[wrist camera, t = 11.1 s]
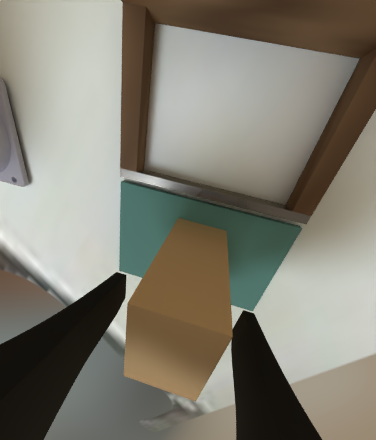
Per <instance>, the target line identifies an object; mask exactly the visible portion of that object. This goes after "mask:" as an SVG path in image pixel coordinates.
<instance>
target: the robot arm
mask: <svg viewBox="0 0 376 440" xmlns="http://www.w3.org/2000/svg"><path fill="white" fill-rule="evenodd" d="M0 181H3V182H7V183H10V184H14V185H17V186H21V187H24V186H27V185H28V178H27V174H26V169H25V165H24V161H23V157H22V153H21V149H20V144H19V140H18V136H17V132H16V128H15V123H14V119H13V115H12V111H11V107H10V103H9V98H8V94H7V90H6V86H5V83H4V81H3V80H2V78H1V77H0ZM125 294H126V275H124V274H121V273H118V272H117V273H115V274H113V275H112V276H111V277H109V278H108V279H107V280H105V281H104V282H103V283H101V284H100V285H99V286H97V287H96V288H94V289H93V290H92V291H90V292H89V293H87V294H86V295H84V296H83V297H81V298H80V299H79V300H77V301H76V302H74V303H72V304H71V305H69V306H68V307H66V308H65V309H63V310H62V311H60V312H58V313H57V314H55V315H53V316H52V317H50V318H48V319H47V320H45V321H43V322H41V323H40V324H38V325H36V326H34V327H33V328H31V329H29V330H27V331H25V332H23V333H21V334H20V335H18V336H16V337H14V338H12V339H10V340H8V341H6V342H4V343H2V344H0V440H44V438H45V436H46V434H47V432H48V430H49V428H50V426H51V424H52V422H53V421H54V419H55V416H56V415H57V413H58V411H59V409H60V407H61V406H62V404H63V402H64V400H65V398H66V396H67V394H68V393H69V391H70V389H71V387H72V385H73V383H74V382H75V379H76V378H77V376H78V374H79V373H80V371H81V369H82V367H83V366H84V364H85V362H86V361H87V359H88V357H89V356H90V354H91V353H92V351H93V350H94V348H95V347H96V345H97V344H98V342H99V341H100V339H101V337H102V336H103V334H104V333H105V331H106V330H107V328H108V327H109V325H110V324H111V322H112V321H113V319H114V318H115V316H116V314H117V313H118V311H119V309H120V307H121V305H122V303H123V301H124V299H125ZM232 333H233V337H232V347H231V352H232V366H233V379H234V391H235V404H236V430H237V431H236V433H237V434H236V435H237V437H236V440H322V439H321V437H320V436H319V434H318V432H317V431H316V429H315V427H314V426H313V424H312V423H311V421H310V419H309V418H308V416H307V414H306V413H305V411H304V409H303V408H302V406H301V404H300V403H299V401H298V399H297V397H296V396H295V394H294V392H293V390H292V388H291V387H290V385H289V383H288V381H287V379H286V378H285V376H284V374H283V372H282V370H281V368H280V366H279V364H278V362H277V360H276V358H275V356H274V354H273V352H272V350H271V348H270V346H269V344H268V342H267V340H266V338H265V336H264V334H263V332H262V330H261V327H260V325H259V323H258V321H257V319H256V317H255V315H254V313H251V312H247V311H244V310H243V312H242V314H241V315H240V317H239V319H238V321H237V323H236V324H235V326H234V328H233V330H232Z"/></svg>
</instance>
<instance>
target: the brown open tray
mask: <svg viewBox="0 0 376 440" xmlns="http://www.w3.org/2000/svg"><path fill="white" fill-rule="evenodd" d="M121 1H122V2H123V24H122V91H121V158H120V177H124V178H128V179H132V180H136V181H140V182H144V183H147V184H151V185H155V186H159V187H163V188H167V189H171V190H175V191H179V192H183V193H186V194H190V195H194V196H198V197H202V198H206V199H210V200H214V201H218V202H222V203H226V204H229V205H233V206H237V207H241V208H245V209H249V210H253V211H257V212H261V213H265V214H268V215H272V216H276V217H280V218H284V219H288V220H292V221H296V222H300V223H304V224H307V222H308V220H309V219H310V217H311V215H312V214H313V212H314V210H315V209H316V207H317V205H318V204H319V202H320V200H321V199H322V197H323V196H324V194H325V192H326V191H327V189H328V187H329V186H330V184H331V182H332V181H333V179H334V177H335V176H336V174H337V172H338V171H339V169H340V167H341V166H342V164H343V162H344V161H345V159H346V157H347V156H348V154H349V152H350V151H351V149H352V147H353V146H354V144H355V142H356V141H357V139H358V137H359V136H360V134H361V132H362V131H363V129H364V127H365V126H366V124H367V122H368V121H369V119H370V118H371V116H372V114H373V113H374V111H375V109H376V0H121ZM155 23H159V24H165V25H171V26H176V27H182V28H188V29H194V30H199V31H205V32H211V33H217V34H222V35H228V36H234V37H240V38H245V39H251V40H257V41H263V42H268V43H274V44H280V45H286V46H291V47H297V48H303V49H309V50H314V51H320V52H326V53H332V54H337V55H343V56H349V57H355V58H360V60H359V62H358V64H357V66H356V68H355V70H354V72H353V74H352V76H351V78H350V80H349V82H348V84H347V86H346V88H345V90H344V92H343V94H342V96H341V97H340V99H339V101H338V103H337V105H336V107H335V109H334V111H333V113H332V115H331V117H330V119H329V121H328V123H327V125H326V127H325V129H324V131H323V133H322V135H321V137H320V139H319V141H318V143H317V145H316V147H315V149H314V151H313V153H312V155H311V157H310V159H309V160H308V162H307V164H306V166H305V168H304V170H303V172H302V174H301V176H300V178H299V180H298V182H297V184H296V186H295V188H294V190H293V192H292V194H291V196H290V198H289V200H288V202H287V204H286V205H283V204H279V203H275V202H271V201H267V200H263V199H259V198H255V197H251V196H247V195H243V194H239V193H235V192H231V191H227V190H223V189H219V188H215V187H211V186H207V185H203V184H199V183H195V182H191V181H187V180H183V179H179V178H175V177H171V176H167V175H163V174H159V173H155V172H151V171H147V170H144V158H145V145H146V132H147V119H148V106H149V93H150V80H151V67H152V54H153V41H154V28H155Z"/></svg>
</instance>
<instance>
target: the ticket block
mask: <svg viewBox="0 0 376 440" xmlns="http://www.w3.org/2000/svg"><path fill="white" fill-rule="evenodd" d="M232 337H233V333H232V315H231V298H230V280H229V263H228V245H227V231H225V230H222V229H218V228H214V227H210V226H207V225H203V224H199V223H196V222H192V221H188V220H184V219H181V218H178V219H177V221H176V222H175V224H174V226H173V228H172V229H171V231H170V233H169V234H168V236H167V238H166V239H165V241H164V243H163V244H162V246H161V248H160V250H159V251H158V253H157V255H156V256H155V258H154V260H153V261H152V263H151V265H150V266H149V268H148V270H147V272H146V273H145V275H144V277H143V278H142V280H141V282H140V283H139V285H138V287H137V288H136V290H135V292H134V294H133V295H132V297H131V299H130V300H129V302H128V306H127V325H126V344H125V363H124V376H126V377H129V378H132V379H135V380H137V381H140V382H143V383H146V384H149V385H151V386H154V387H157V388H160V389H163V390H165V391H168V392H171V393H174V394H177V395H179V396H182V397H185V398H188V399H190V400H193V401H196V400H197V398H198V397H199V395H200V393H201V391H202V390H203V388H204V386H205V384H206V383H207V381H208V379H209V377H210V376H211V374H212V372H213V371H214V369H215V367H216V365H217V364H218V362H219V360H220V358H221V357H222V355H223V353H224V351H225V350H226V348H227V346H228V344H229V343H230V341H231V339H232Z"/></svg>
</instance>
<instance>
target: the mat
mask: <svg viewBox="0 0 376 440" xmlns="http://www.w3.org/2000/svg"><path fill="white" fill-rule="evenodd" d="M178 218H181V219H184V220H188V221H192V222H196V223H199V224H203V225H207V226H210V227H214V228H218V229H222V230H225V231H227V245H228V263H229V280H230V298H231V305H234V306H237V307H240V308H244V309H247V310H250V311H253V310H254V308H255V306H256V305H257V303H258V301H259V300H260V298H261V296H262V295H263V293H264V291H265V290H266V288H267V286H268V285H269V283H270V281H271V280H272V278H273V276H274V275H275V273H276V271H277V270H278V268H279V266H280V265H281V263H282V261H283V260H284V258H285V256H286V255H287V253H288V251H289V250H290V248H291V246H292V245H293V243H294V241H295V240H296V238H297V236H298V235H299V233H300V231H301V230H302V228H301V227H300V226H297V225H294V224H290V223H286V222H282V221H278V220H274V219H270V218H266V217H263V216H259V215H255V214H251V213H247V212H243V211H239V210H235V209H231V208H228V207H224V206H220V205H216V204H212V203H208V202H204V201H200V200H197V199H193V198H189V197H185V196H181V195H177V194H173V193H169V192H166V191H162V190H158V189H154V188H150V187H146V186H142V185H138V184H134V183H131V182H127V181H122V182H121V210H120V268H119V271H122V272H126V273H129V274H132V275H135V276H139V277H142V278H143V277H144V275H145V273H146V272H147V270H148V268H149V266H150V265H151V263H152V261H153V260H154V258H155V256H156V255H157V253H158V251H159V250H160V248H161V246H162V244H163V243H164V241H165V239H166V238H167V236H168V234H169V233H170V231H171V229H172V228H173V226H174V224H175V222H176V221H177V219H178Z"/></svg>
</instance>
